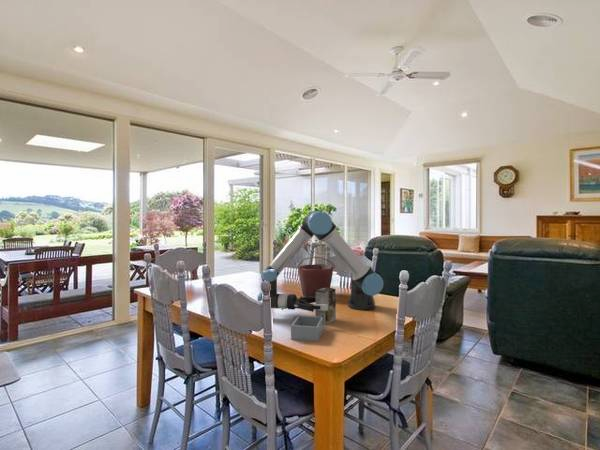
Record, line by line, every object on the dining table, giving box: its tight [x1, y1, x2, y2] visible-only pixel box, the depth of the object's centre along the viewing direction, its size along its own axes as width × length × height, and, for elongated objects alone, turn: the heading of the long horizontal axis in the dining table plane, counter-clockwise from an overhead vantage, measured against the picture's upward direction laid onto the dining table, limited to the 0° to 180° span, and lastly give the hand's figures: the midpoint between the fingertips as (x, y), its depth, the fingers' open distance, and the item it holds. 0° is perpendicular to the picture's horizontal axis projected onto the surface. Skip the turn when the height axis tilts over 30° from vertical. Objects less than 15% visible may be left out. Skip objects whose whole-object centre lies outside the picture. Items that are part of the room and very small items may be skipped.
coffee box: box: [314, 287, 337, 326], centre depth 174 cm, size 9×6×16 cm
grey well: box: [290, 315, 324, 342], centre depth 156 cm, size 12×15×6 cm
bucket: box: [295, 256, 336, 297], centre depth 227 cm, size 24×22×25 cm
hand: (329, 303), depth 173 cm, fingers open, 13 cm apart
